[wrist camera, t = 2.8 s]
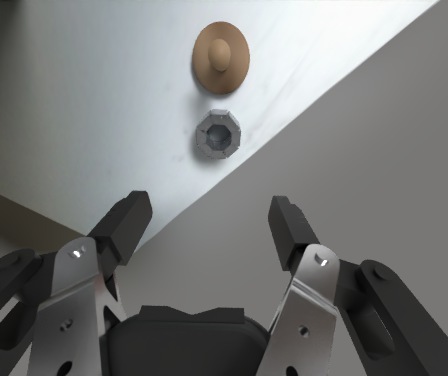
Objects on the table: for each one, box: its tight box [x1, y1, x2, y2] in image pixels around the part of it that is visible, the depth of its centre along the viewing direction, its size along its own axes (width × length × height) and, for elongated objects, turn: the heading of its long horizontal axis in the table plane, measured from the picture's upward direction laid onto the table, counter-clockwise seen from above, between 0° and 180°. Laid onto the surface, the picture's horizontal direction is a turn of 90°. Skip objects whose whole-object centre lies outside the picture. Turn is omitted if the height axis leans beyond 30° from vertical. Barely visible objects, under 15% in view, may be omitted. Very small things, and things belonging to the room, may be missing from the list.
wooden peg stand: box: [193, 22, 250, 94], centre depth 17 cm, size 7×7×8 cm
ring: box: [196, 109, 241, 159], centre depth 24 cm, size 6×6×4 cm
